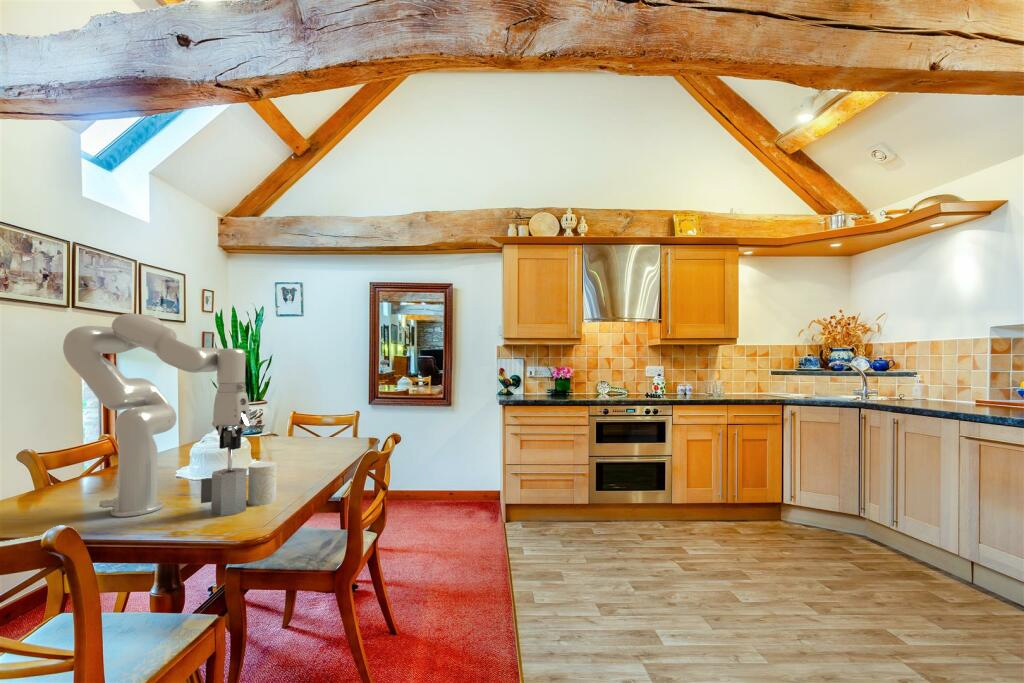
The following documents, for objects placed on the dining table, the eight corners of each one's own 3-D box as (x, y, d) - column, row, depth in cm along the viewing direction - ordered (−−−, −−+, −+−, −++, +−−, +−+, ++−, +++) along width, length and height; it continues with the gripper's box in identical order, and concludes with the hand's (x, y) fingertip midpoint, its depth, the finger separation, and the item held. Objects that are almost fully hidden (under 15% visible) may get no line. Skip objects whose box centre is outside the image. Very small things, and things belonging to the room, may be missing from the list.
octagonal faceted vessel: (199, 519, 141) (199, 477, 141) (202, 510, 149) (203, 470, 149) (245, 513, 146) (246, 473, 146) (246, 504, 154) (246, 466, 154)
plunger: (222, 488, 146) (223, 431, 146) (223, 485, 149) (224, 430, 149) (236, 487, 147) (236, 431, 148) (236, 484, 150) (237, 429, 151)
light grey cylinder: (251, 507, 152) (251, 468, 152) (245, 500, 158) (246, 464, 158) (279, 502, 157) (279, 464, 157) (272, 496, 163) (273, 460, 163)
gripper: (262, 388, 150) (261, 447, 149) (221, 387, 155) (220, 444, 154) (242, 390, 143) (241, 452, 142) (199, 388, 148) (198, 449, 147)
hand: (230, 447), depth 148 cm, fingers closed on plunger, 3 cm apart
